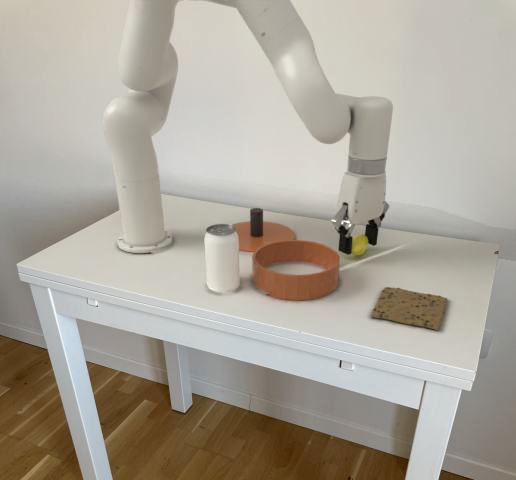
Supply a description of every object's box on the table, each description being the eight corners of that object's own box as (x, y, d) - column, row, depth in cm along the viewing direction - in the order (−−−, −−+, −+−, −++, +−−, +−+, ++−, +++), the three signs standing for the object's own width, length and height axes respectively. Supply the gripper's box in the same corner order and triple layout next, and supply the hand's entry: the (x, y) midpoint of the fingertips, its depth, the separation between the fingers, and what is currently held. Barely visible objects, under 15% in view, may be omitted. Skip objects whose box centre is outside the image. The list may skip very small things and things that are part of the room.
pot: (235, 277, 111) (235, 253, 108) (299, 255, 119) (300, 233, 117) (290, 309, 99) (290, 284, 96) (355, 283, 108) (358, 259, 105)
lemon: (371, 248, 120) (373, 231, 118) (360, 261, 114) (362, 244, 112) (353, 244, 122) (355, 228, 119) (341, 258, 116) (343, 240, 114)
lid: (204, 236, 129) (202, 207, 125) (263, 220, 138) (263, 192, 134) (248, 261, 117) (248, 230, 113) (310, 241, 126) (312, 212, 122)
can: (227, 297, 103) (225, 238, 97) (200, 289, 106) (196, 231, 100) (246, 284, 108) (245, 227, 101) (219, 276, 111) (217, 220, 104)
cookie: (439, 331, 93) (440, 326, 92) (370, 317, 97) (370, 312, 96) (447, 300, 102) (448, 295, 101) (384, 288, 106) (384, 284, 105)
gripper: (381, 154, 114) (372, 233, 124) (321, 168, 106) (316, 252, 115) (409, 162, 109) (397, 243, 119) (349, 177, 101) (341, 264, 110)
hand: (357, 247), depth 117 cm, fingers closed on lemon, 7 cm apart
